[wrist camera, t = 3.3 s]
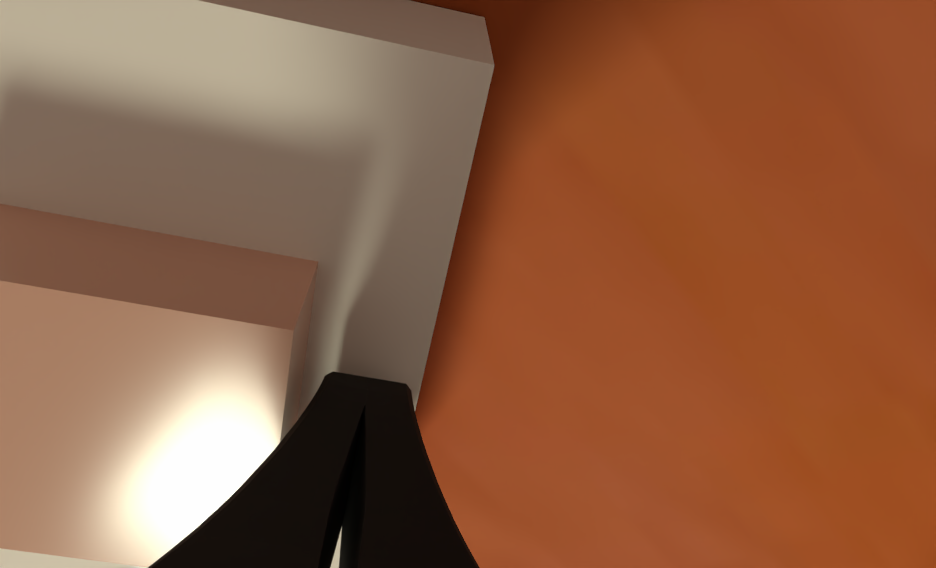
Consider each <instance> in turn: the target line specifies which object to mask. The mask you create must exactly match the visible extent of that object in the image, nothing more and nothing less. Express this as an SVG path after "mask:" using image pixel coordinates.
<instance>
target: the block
mask: <svg viewBox="0 0 936 568" xmlns="http://www.w3.org/2000/svg"><path fill="white" fill-rule="evenodd" d="M317 269H318V261H312V260H307V259H302V258H296V257H291V256H285V255H280V254H274V253H269V252H263V251H258V250H252V249H247V248H241V247H236V246H230V245H225V244H219V243H214V242H208V241H203V240H197V239H192V238H186V237H181V236H175V235H170V234H164V233H159V232H153V231H148V230H142V229H137V228H131V227H126V226H120V225H115V224H109V223H104V222H98V221H93V220H87V219H82V218H76V217H71V216H65V215H60V214H54V213H49V212H44V211H38V210H33V209H27V208H22V207H16V206H11V205H5V204H0V548H1V549H9V550H17V551H24V552H32V553H40V554H47V555H55V556H63V557H70V558H78V559H86V560H93V561H101V562H109V563H116V564H124V565H131V566H139V567H147V568H148V567H149V566H150V565H152V564H153V563H154V562H155V561H157V560H158V559H159V558H161V557H162V556H163V555H164V554H166V553H167V552H168V551H169V550H171V549H172V548H173V547H174V546H175V545H177V544H178V543H179V542H180V541H181V540H183V539H184V538H185V537H186V536H188V535H189V534H190V533H191V532H192V531H194V530H195V529H196V528H197V527H198V526H199V525H201V524H202V523H203V522H204V521H205V520H206V519H207V518H208V517H209V516H210V515H212V514H213V513H214V512H215V511H216V510H217V509H218V508H219V507H220V506H221V505H222V504H223V503H224V502H225V501H227V500H228V499H229V498H230V497H231V496H232V495H233V494H234V493H235V492H236V491H237V490H238V489H239V488H240V487H241V486H242V485H243V483H244V482H245V481H246V480H247V479H248V478H249V477H250V476H251V475H252V474H253V473H254V471H255V470H256V469H257V468H258V467H259V466H260V465H261V464H262V463H263V462H264V461H265V460H266V458H267V457H268V456H269V455H270V454H271V453H272V452H273V450H274V449H275V448H276V447H277V446H278V444H279V443H280V442H281V441H282V439H283V438H284V437H285V436H286V434H287V433H288V432H289V430H290V429H291V428H292V427H293V425H294V424H295V423H296V422H297V419H298V411H299V404H300V396H301V389H302V381H303V374H304V366H305V359H306V351H307V344H308V336H309V329H310V321H311V314H312V306H313V299H314V291H315V284H316V276H317Z"/></svg>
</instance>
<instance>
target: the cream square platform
mask: <svg viewBox="0 0 936 568" xmlns="http://www.w3.org/2000/svg"><path fill="white" fill-rule="evenodd" d="M493 70H494V60H493V55H492V51H491V46H490V41H489V36H488V31H487V27H486V22H485V17H481V16H477V15H472V14H468V13H464V12H459V11H455V10H450V9H446V8H442V7H437V6H433V5H428V4H424V3H419V2H415V1H411V0H0V204H5V205H11V206H16V207H22V208H27V209H33V210H38V211H44V212H49V213H54V214H60V215H65V216H71V217H76V218H82V219H87V220H93V221H98V222H104V223H109V224H115V225H120V226H126V227H131V228H137V229H142V230H148V231H153V232H159V233H164V234H170V235H175V236H181V237H186V238H192V239H197V240H203V241H208V242H214V243H219V244H225V245H230V246H236V247H241V248H247V249H252V250H258V251H263V252H269V253H274V254H280V255H285V256H291V257H296V258H302V259H307V260H312V261H318V269H317V276H316V284H315V291H314V299H313V306H312V314H311V321H310V329H309V336H308V344H307V351H306V359H305V366H304V374H303V381H302V389H301V396H300V404H299V411H298V419H299V418H300V416H301V415H302V413H303V412H304V410H305V409H306V408H307V406H308V405H309V403H310V402H311V400H312V399H313V397H314V395H315V394H316V392H317V390H318V389H319V387H320V385H321V383H322V381H323V379H324V376H325V375H327V374H329V373H331V372H332V371H334V372H340V373H346V374H352V375H358V376H364V377H370V378H376V379H382V380H388V381H394V382H400V383H406V384H407V385H408V387H409V388H410V389H411V392H412V400H413V405H414V410H416V405H417V401H418V396H419V392H420V388H421V383H422V379H423V375H424V370H425V366H426V362H427V357H428V353H429V349H430V344H431V340H432V335H433V331H434V327H435V322H436V318H437V314H438V309H439V305H440V301H441V296H442V292H443V288H444V283H445V279H446V274H447V270H448V266H449V261H450V257H451V253H452V248H453V244H454V240H455V235H456V231H457V226H458V222H459V218H460V213H461V209H462V205H463V200H464V196H465V192H466V187H467V183H468V179H469V174H470V170H471V165H472V161H473V157H474V152H475V148H476V144H477V139H478V135H479V131H480V126H481V122H482V118H483V113H484V109H485V104H486V100H487V96H488V91H489V87H490V83H491V78H492V74H493ZM298 419H297V420H298ZM341 532H342V528H341V531H340V535H339V538H338V542H337V546H336V549H335V553H334V556H333V560H332V563H331V567H330V568H339V559H340V545H341ZM0 568H147V567H139V566H131V565H124V564H116V563H109V562H101V561H93V560H86V559H78V558H70V557H63V556H55V555H47V554H40V553H32V552H24V551H17V550H9V549H1V548H0Z"/></svg>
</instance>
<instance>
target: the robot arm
mask: <svg viewBox="0 0 936 568" xmlns="http://www.w3.org/2000/svg"><path fill="white" fill-rule="evenodd" d="M341 528H342V532H341V545H340V559H339V568H479V566H478V564H477V563H476V561H475V559H474V557H473V556H472V554H471V552H470V550H469V548H468V547H467V545H466V543H465V541H464V539H463V537H462V535H461V533H460V531H459V529H458V527H457V525H456V523H455V521H454V519H453V517H452V514H451V512H450V510H449V508H448V506H447V503H446V501H445V499H444V497H443V494H442V492H441V489H440V487H439V485H438V482H437V480H436V477H435V474H434V471H433V469H432V466H431V463H430V461H429V458H428V455H427V452H426V449H425V446H424V443H423V440H422V437H421V433H420V430H419V426H418V423H417V419H416V415H415V410H414V405H413V400H412V392H411V389H410V388H409V387H408V385H407V384H406V383H400V382H394V381H388V380H382V379H376V378H370V377H364V376H358V375H352V374H346V373H340V372H334V371H332V372H331V373H329V374H327V375H325V376H324V379H323V381H322V383H321V385H320V387H319V389H318V390H317V392H316V394H315V395H314V397H313V399H312V400H311V402H310V403H309V405H308V406H307V408H306V409H305V410H304V412H303V413H302V415H301V416H300V418H299V419H298V420H297V422H296V423H295V424H294V425H293V427H292V428H291V429H290V430H289V432H288V433H287V434H286V436H285V437H284V438H283V439H282V441H281V442H280V443H279V444H278V446H277V447H276V448H275V449H274V450H273V452H272V453H271V454H270V455H269V456H268V457H267V458H266V460H265V461H264V462H263V463H262V464H261V465H260V466H259V467H258V468H257V469H256V470H255V471H254V473H253V474H252V475H251V476H250V477H249V478H248V479H247V480H246V481H245V482H244V483H243V485H242V486H241V487H240V488H239V489H238V490H237V491H236V492H235V493H234V494H233V495H232V496H231V497H230V498H229V499H228V500H227V501H225V502H224V503H223V504H222V505H221V506H220V507H219V508H218V509H217V510H216V511H215V512H214V513H213V514H212V515H210V516H209V517H208V518H207V519H206V520H205V521H204V522H203V523H202V524H201V525H199V526H198V527H197V528H196V529H195V530H194V531H192V532H191V533H190V534H189V535H188V536H186V537H185V538H184V539H183V540H181V541H180V542H179V543H178V544H177V545H175V546H174V547H173V548H172V549H171V550H169V551H168V552H167V553H166V554H164V555H163V556H162V557H161V558H159V559H158V560H157V561H155V562H154V563H153V564H152V565H150V566H149V567H148V568H330V567H331V563H332V560H333V556H334V553H335V549H336V546H337V542H338V538H339V535H340V531H341Z"/></svg>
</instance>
